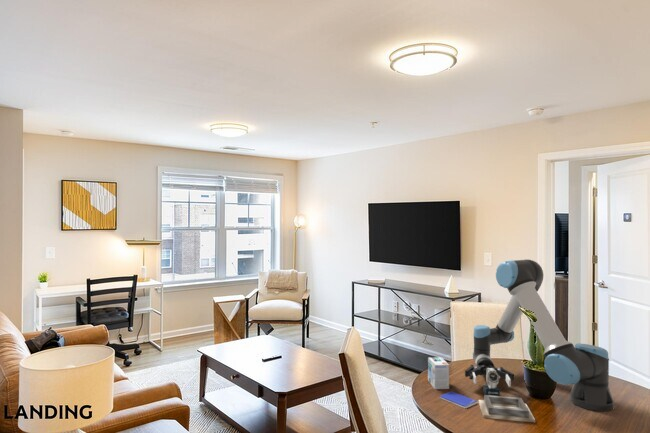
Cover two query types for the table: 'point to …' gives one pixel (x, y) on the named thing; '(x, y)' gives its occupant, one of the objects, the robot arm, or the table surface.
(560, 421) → the table surface
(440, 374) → the light bulb box
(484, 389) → the watch
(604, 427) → the table surface
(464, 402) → the hard drive
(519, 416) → the fitting base
